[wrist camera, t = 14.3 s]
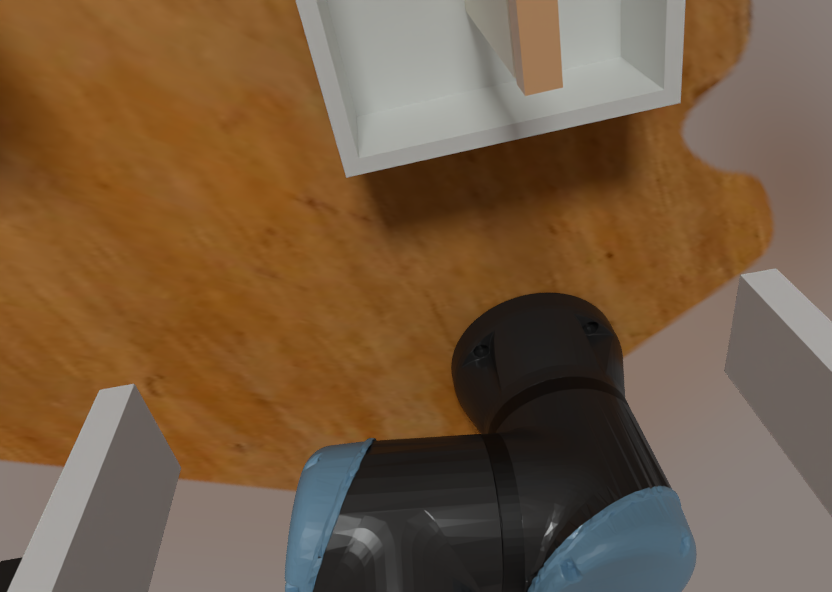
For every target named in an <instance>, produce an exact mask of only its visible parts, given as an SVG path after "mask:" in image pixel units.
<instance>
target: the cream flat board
mask: <svg viewBox="0 0 832 592" xmlns="http://www.w3.org/2000/svg"><path fill="white" fill-rule="evenodd" d="M464 2H465V9H466V12H467V13H468V15H469V16H470V17H471V19H472V20H473V22H474V23H475V24H476V26H477V27H478V28H479V30H480V31H481V33H482V34H483V35H484V37H485V38H486V40H487V41H488V42H489V44H490V45H491V46H492V48H493V49H494V51H495V52H496V53H497V55H498V56H499V58H500V59H501V60H502V62H503V63H504V64H505V66H506V67H507V69H508V70H509V71H510V73H511V74H512V76H513V77H514V78H516V81H517V85H518V87H519V88H520V89H521V91H522V92H523V94H524V95H525V96H528V95H532V94H537V93H541V92H545V91H550V90H554V89H559V88H563V78H562V61H561V45H560V28H559V12H558V0H464Z"/></svg>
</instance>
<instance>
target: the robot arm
mask: <svg viewBox="0 0 832 592" xmlns="http://www.w3.org/2000/svg"><path fill="white" fill-rule="evenodd" d="M451 369H452V377H453V382H454V387H455V392H456V395H457V398H458V400H459V402H460V404H461V406H462V408H463V409H464V411H465V412H466V414H467V415H468V416H469V418H470V419H471V421H472V422H473V423H474V425H475V426H476V427H477V429H478V430H479V431H480V433H481V434H473V435H458V436H442V437H426V438H411V439H395V440H380V441H376V438H369V439H367V440H366V441H365V442H356V443H348V444H339V445H331V446H326V447H323V448H321V449H319V450H317V451H316V452H315V453H314V454H313V455H312V456H311V457H310V458H309V459H308V461H307V462H306V464H305V466H304V468H303V471H302V473H301V476H300V480H299V483H298V487H297V491H296V495H295V500H294V505H293V510H292V516H291V522H290V529H289V536H288V546H287V554H286V565H285V581H286V585H285V592H681V591H682V590H683V589H684V588H685V586H686V584H687V583H688V581H689V580H690V578H691V575H692V573H693V570H694V567H695V563H696V545H695V541H694V538H693V535H692V533H691V530H690V528H689V525H688V523H687V521H686V518H685V516H684V513H683V511H682V509H681V503H680V499H679V497H678V495H677V493H676V492H675V491H673V490H672V488H671V486H670V484H669V482H668V480H667V478H666V476H665V474H664V472H663V471H662V469H661V467H660V465H659V463H658V461H657V459H656V457H655V455H654V453H653V451H652V449H651V448H650V445H649V444H648V442H647V440H646V438H645V436H644V434H643V432H642V430H641V428H640V426H639V424H638V423H637V421H636V418H635V417H634V415H633V413H632V411H631V409H630V407H629V405H628V403H627V401H626V399H625V389H624V371H623V354H622V349H621V345H620V342H619V340H618V337H617V335H616V334H615V332H614V330H613V328H612V326H611V324H610V323H609V321H608V319H607V318H606V317H605V315H604V314H603V313H602V312H601V311H600V310H599V309H598V308H596V307H595V306H594V305H592V304H591V303H589V302H587V301H585V300H583V299H580V298H578V297H575V296H571V295H567V294H560V293H536V294H529V295H524V296H520V297H517V298H514V299H511V300H508V301H506V302H503V303H501V304H499V305H497V306H495V307H493V308H492V309H490V310H488V311H487V312H485V313H484V314H482V315H481V316H480V317H479V318H477V319H476V320H475V321H474V322H473V323H472V324H471V325H470V326H469V327H468V328H467V330H466V331H465V332H464V333H463V335H462V336H461V338H460V340H459V341H458V343H457V345H456V348H455V350H454V353H453V358H452V366H451ZM724 371H725V373H726V374H727V375H728V377H729V378H730V379H731V381H732V382H733V384H734V385H735V386H736V388H737V389H738V390H739V392H740V393H741V394H742V396H743V397H744V398H745V400H746V401H747V402H748V404H749V405H750V406H751V408H752V409H753V410H754V412H755V413H756V415H757V416H758V417H759V419H760V420H761V422H762V423H763V424H764V426H765V427H766V428H767V430H768V431H769V432H770V434H771V435H772V436H773V438H774V439H775V440H776V442H777V443H778V445H779V446H780V447H781V449H782V450H783V451H784V453H785V454H786V455H787V457H788V458H789V460H790V461H791V462H792V464H793V465H794V466H795V468H796V469H797V470H798V472H799V473H800V474H801V476H802V477H803V479H804V480H805V481H806V483H807V484H808V485H809V487H810V488H811V489H812V491H813V492H814V493H815V495H816V496H817V498H818V499H819V500H820V502H821V503H822V504H823V506H824V507H825V508H826V510H827V511H828V512H829V514H830V515H831V517H832V322H831V321H830V320H829V319H828V318H827V317H826V316H825V315H824V314H823V313H822V312H821V311H820V310H819V309H818V308H817V307H816V306H815V305H814V304H813V303H812V302H810V301H809V300H808V299H807V298H806V297H805V296H804V295H803V294H802V293H801V292H800V291H799V290H798V289H797V288H796V287H795V286H794V285H793V284H792V283H791V282H789V280H788V279H787V278H785V277H784V276H783V275H782V274H781V273H780V272H779V271H778V270H777V269H770V270H765V271H759V272H754V273H749V274H742V275H740V279H739V286H738V292H737V297H736V304H735V310H734V316H733V322H732V328H731V334H730V340H729V346H728V352H727V358H726V364H725V370H724ZM180 470H181V467H180V465H179V463H178V461H177V459H176V458H175V456H174V454H173V452H172V450H171V449H170V447H169V445H168V443H167V441H166V440H165V438H164V436H163V434H162V432H161V431H160V429H159V427H158V425H157V423H156V422H155V420H154V418H153V416H152V414H151V413H150V411H149V409H148V407H147V405H146V404H145V402H144V400H143V398H142V396H141V395H140V393H139V391H138V389H137V387H136V386H135V384H131V385H125V386H119V387H114V388H108V389H103V390H99V392H98V395H97V397H96V399H95V401H94V403H93V405H92V408H91V410H90V412H89V414H88V416H87V419H86V421H85V423H84V425H83V427H82V429H81V432H80V434H79V436H78V438H77V440H76V443H75V445H74V447H73V449H72V451H71V453H70V456H69V458H68V460H67V462H66V464H65V467H64V469H63V471H62V473H61V475H60V477H59V480H58V482H57V484H56V486H55V488H54V491H53V493H52V495H51V497H50V500H49V502H48V504H47V506H46V508H45V510H44V512H43V515H42V517H41V519H40V521H39V523H38V526H37V528H36V530H35V532H34V534H33V536H32V538H31V541H30V543H29V545H28V547H27V549H26V552H25V554H24V556H23V557H22V558H17V559H11V560H5V561H1V562H0V592H148V590H149V586H150V582H151V578H152V575H153V571H154V567H155V563H156V560H157V556H158V552H159V548H160V545H161V541H162V537H163V533H164V529H165V526H166V522H167V518H168V514H169V511H170V507H171V503H172V500H173V496H174V492H175V489H176V485H177V481H178V477H179V474H180Z"/></svg>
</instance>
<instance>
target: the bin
mask: <svg viewBox="0 0 832 592" xmlns="http://www.w3.org/2000/svg"><path fill="white" fill-rule="evenodd" d="M296 3H297V7H298V10H299V14H300V17H301V21H302V24H303V28H304V31H305V35H306V38H307V42H308V45H309V49H310V52H311V56H312V59H313V63H314V66H315V70H316V73H317V77H318V80H319V84H320V87H321V91H322V94H323V98H324V101H325V105H326V108H327V111H328V115H329V118H330V122H331V125H332V129H333V132H334V136H335V139H336V143H337V146H338V150H339V153H340V157H341V160H342V164H343V167H344V171H345V174H346V178H347V177H351V176H356V175H360V174H364V173H369V172H373V171H378V170H382V169H387V168H391V167H396V166H400V165H405V164H409V163H414V162H418V161H423V160H427V159H432V158H436V157H440V156H445V155H449V154H454V153H458V152H463V151H467V150H472V149H476V148H481V147H485V146H490V145H494V144H499V143H503V142H508V141H512V140H516V139H521V138H525V137H530V136H534V135H539V134H543V133H548V132H552V131H557V130H561V129H566V128H570V127H575V126H579V125H583V124H588V123H592V122H597V121H601V120H606V119H610V118H615V117H619V116H624V115H628V114H633V113H637V112H642V111H646V110H651V109H655V108H659V107H664V106H668V105H673V104H677V103H680V101H681V81H682V60H683V40H684V19H685V0H558V12H559V28H560V45H561V61H562V78H563V88H559V89H554V90H550V91H545V92H541V93H537V94H532V95H528V96H525V95H524V94H523V92H522V91H521V89H520V88H519V87H518V85H517V81H516V78H514V77H513V76H512V74H511V73H510V71H509V70H508V69H507V67H506V66H505V64H504V63H503V62H502V60H501V59H500V58H499V56H498V55H497V53H496V52H495V51H494V49H493V48H492V46H491V45H490V44H489V42H488V41H487V40H486V38H485V37H484V35H483V34H482V33H481V31H480V30H479V28H478V27H477V26H476V24H475V23H474V22H473V20H472V19H471V17H470V16H469V15H468V13H467V12H466V9H465V2H464V0H296Z"/></svg>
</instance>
